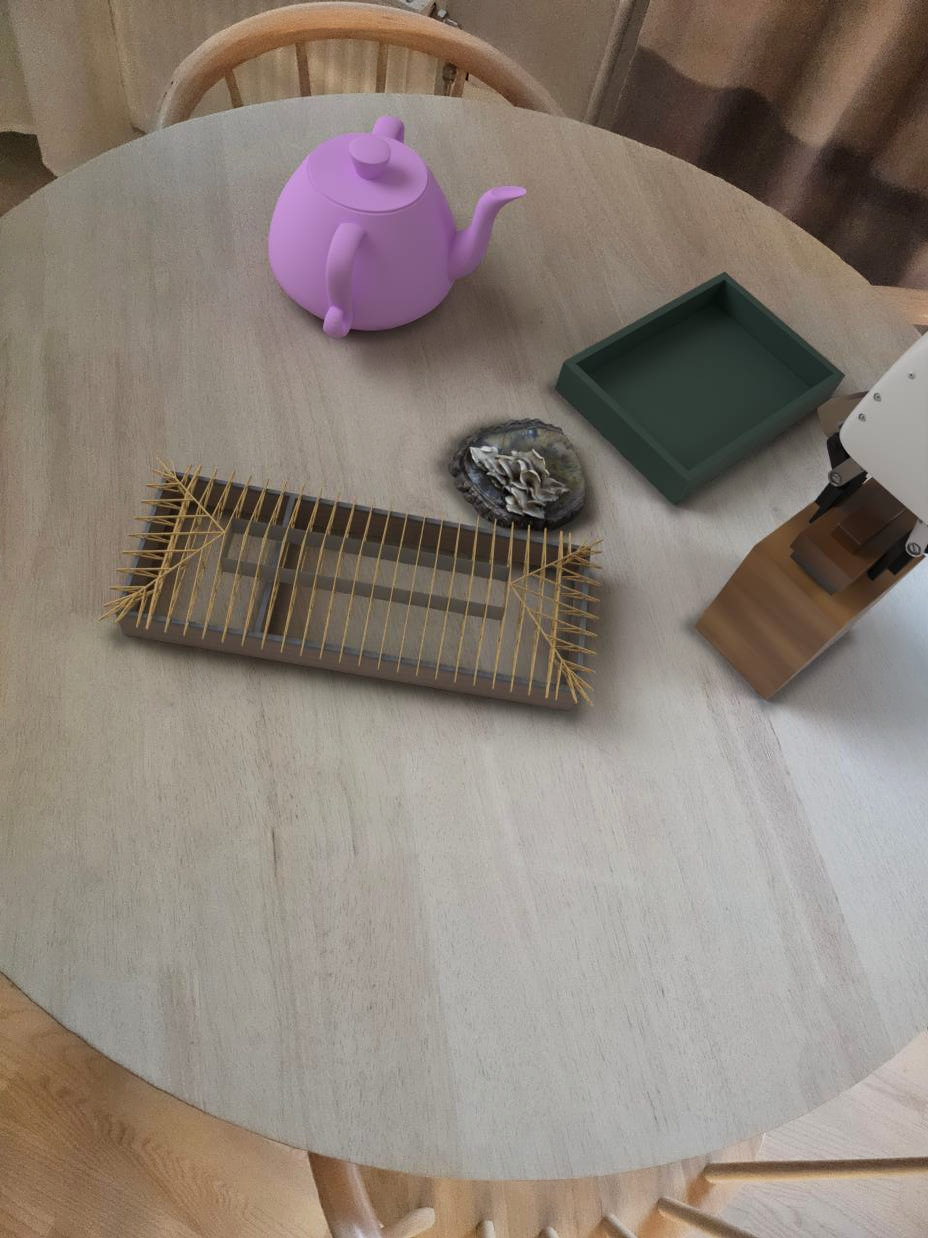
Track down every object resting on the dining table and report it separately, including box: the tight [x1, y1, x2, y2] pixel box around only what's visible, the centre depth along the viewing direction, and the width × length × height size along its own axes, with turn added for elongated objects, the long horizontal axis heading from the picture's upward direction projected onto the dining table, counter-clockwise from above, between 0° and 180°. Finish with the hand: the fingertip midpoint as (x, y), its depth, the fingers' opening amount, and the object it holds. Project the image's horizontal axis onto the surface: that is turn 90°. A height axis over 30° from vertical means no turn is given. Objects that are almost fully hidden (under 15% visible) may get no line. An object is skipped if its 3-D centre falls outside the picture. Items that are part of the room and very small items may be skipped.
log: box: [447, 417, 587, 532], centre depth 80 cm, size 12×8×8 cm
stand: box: [694, 500, 927, 701], centre depth 71 cm, size 10×8×12 cm
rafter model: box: [97, 456, 604, 712], centre depth 70 cm, size 35×14×6 cm, turn 83°
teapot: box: [267, 115, 527, 339], centre depth 83 cm, size 22×22×14 cm
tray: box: [554, 271, 846, 506], centre depth 86 cm, size 22×16×4 cm
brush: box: [790, 476, 918, 595], centre depth 64 cm, size 10×4×4 cm, turn 130°
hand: (853, 539), depth 65 cm, fingers closed on brush, 4 cm apart
